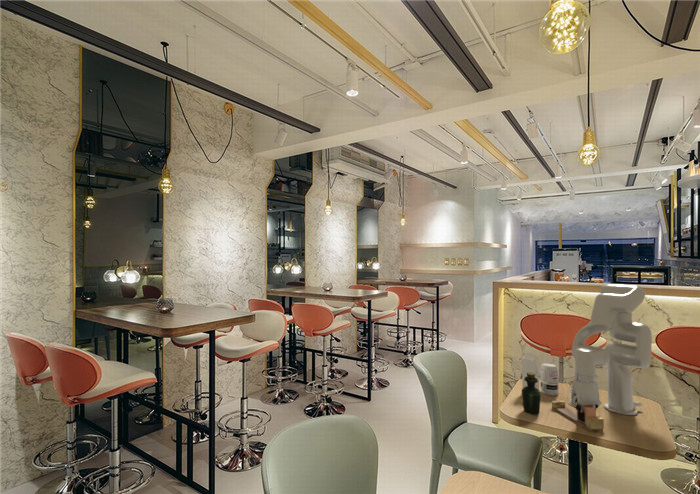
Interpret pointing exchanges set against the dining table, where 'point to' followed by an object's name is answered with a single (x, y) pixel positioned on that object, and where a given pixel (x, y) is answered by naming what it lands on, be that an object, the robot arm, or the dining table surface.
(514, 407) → the dining table surface
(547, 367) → the supplement can
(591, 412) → the block
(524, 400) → the potion bottle
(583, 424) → the track
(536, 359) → the clear plastic bottle
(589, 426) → the post
